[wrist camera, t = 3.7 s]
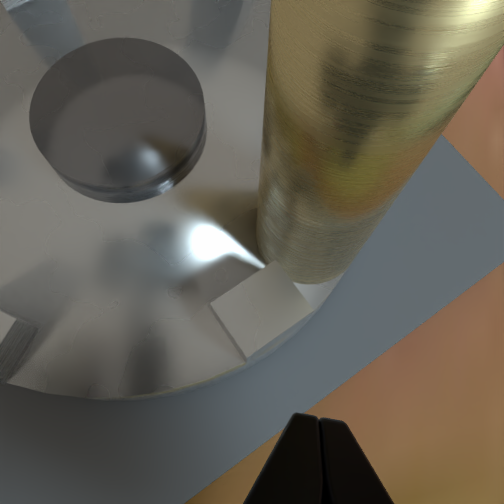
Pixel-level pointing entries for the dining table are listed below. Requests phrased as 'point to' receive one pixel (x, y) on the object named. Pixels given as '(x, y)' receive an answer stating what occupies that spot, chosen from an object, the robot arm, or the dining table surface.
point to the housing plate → (268, 369)
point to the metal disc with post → (204, 172)
